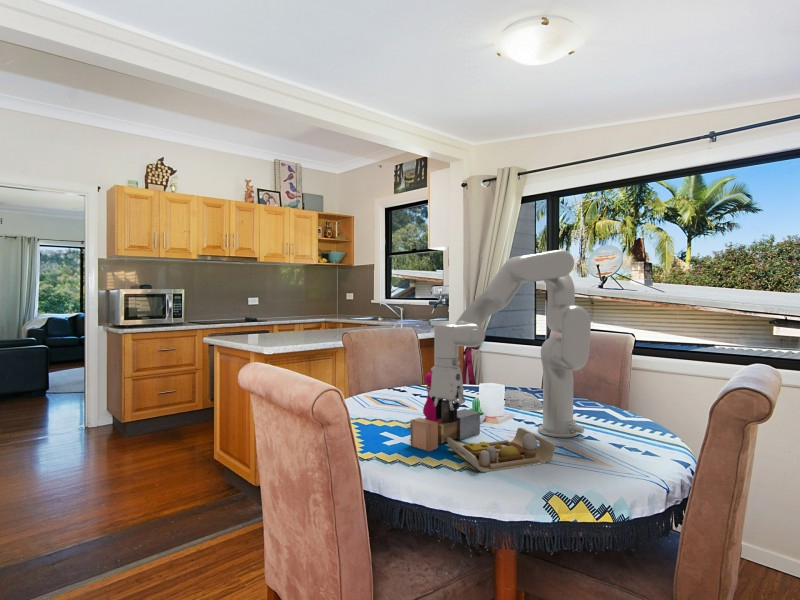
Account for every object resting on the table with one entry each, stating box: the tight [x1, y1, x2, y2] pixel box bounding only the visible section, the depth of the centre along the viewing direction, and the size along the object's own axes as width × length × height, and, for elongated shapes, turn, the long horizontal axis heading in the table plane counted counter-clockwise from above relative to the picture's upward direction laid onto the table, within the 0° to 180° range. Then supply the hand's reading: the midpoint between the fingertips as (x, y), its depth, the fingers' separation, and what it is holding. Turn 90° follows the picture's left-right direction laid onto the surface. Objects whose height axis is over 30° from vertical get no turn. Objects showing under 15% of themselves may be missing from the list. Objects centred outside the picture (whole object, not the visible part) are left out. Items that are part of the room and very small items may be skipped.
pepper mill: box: [422, 367, 441, 422], centre depth 167 cm, size 7×7×20 cm
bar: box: [437, 399, 458, 444], centre depth 152 cm, size 4×16×12 cm, turn 133°
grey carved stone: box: [504, 389, 543, 412], centre depth 196 cm, size 16×25×7 cm, turn 37°
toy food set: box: [447, 427, 556, 473], centre depth 135 cm, size 25×18×8 cm
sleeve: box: [457, 408, 481, 441], centre depth 155 cm, size 6×10×7 cm, turn 133°
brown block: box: [410, 417, 439, 452], centre depth 143 cm, size 8×4×8 cm, turn 43°
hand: (446, 419), depth 149 cm, fingers open, 4 cm apart
